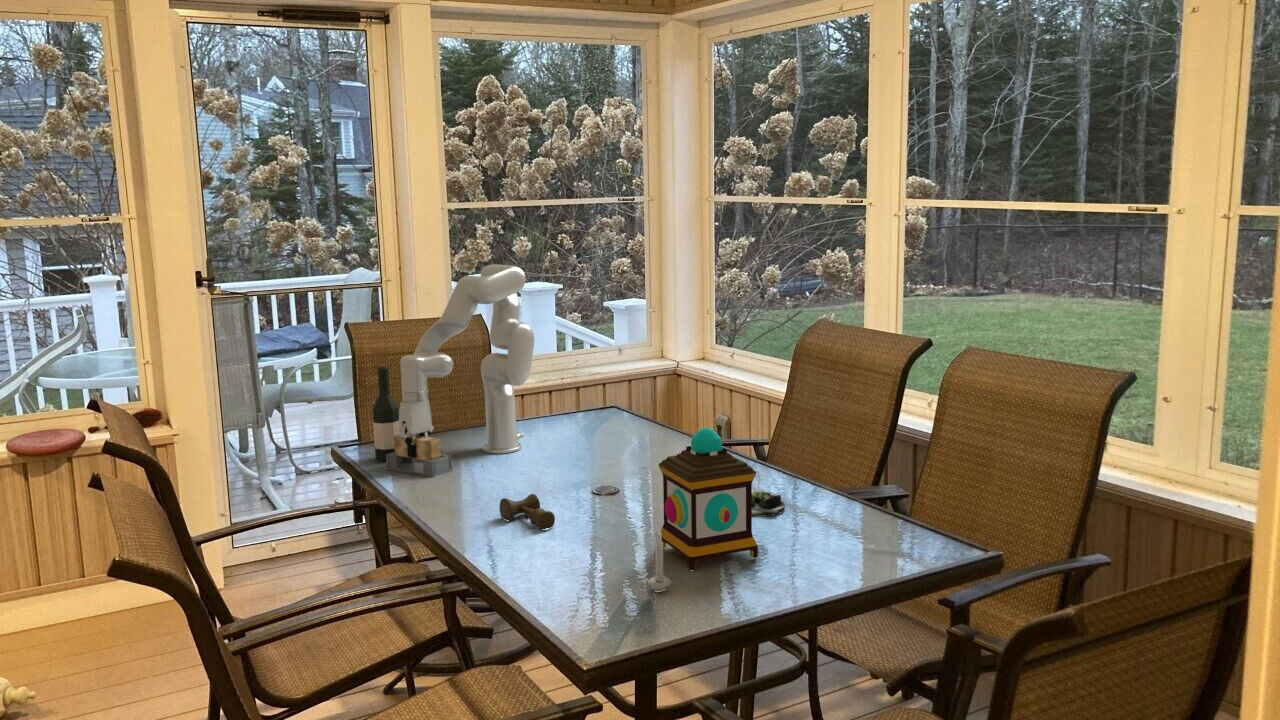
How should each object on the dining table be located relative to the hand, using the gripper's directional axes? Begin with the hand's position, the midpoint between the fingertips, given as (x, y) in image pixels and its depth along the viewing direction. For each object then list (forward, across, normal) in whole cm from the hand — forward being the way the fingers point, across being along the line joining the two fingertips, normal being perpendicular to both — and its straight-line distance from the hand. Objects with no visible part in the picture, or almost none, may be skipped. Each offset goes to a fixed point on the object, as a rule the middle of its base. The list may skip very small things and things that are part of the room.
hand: (417, 454), depth 314 cm
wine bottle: (+5, -5, -17) cm, 19 cm away
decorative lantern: (+5, +24, +111) cm, 113 cm away
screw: (+5, +48, +112) cm, 122 cm away
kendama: (+5, +23, +59) cm, 63 cm away
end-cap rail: (+5, 0, 0) cm, 5 cm away
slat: (+1, 0, 0) cm, 1 cm away
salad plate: (+5, -13, +106) cm, 107 cm away
